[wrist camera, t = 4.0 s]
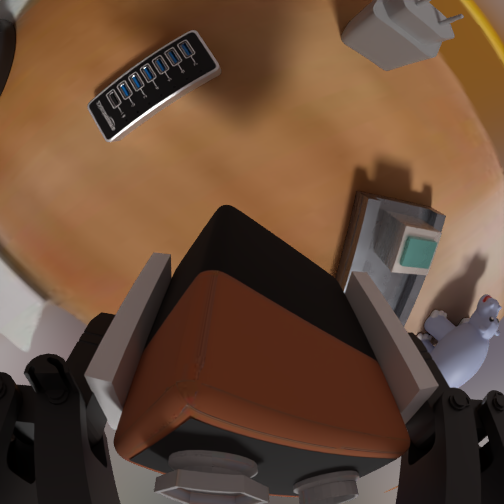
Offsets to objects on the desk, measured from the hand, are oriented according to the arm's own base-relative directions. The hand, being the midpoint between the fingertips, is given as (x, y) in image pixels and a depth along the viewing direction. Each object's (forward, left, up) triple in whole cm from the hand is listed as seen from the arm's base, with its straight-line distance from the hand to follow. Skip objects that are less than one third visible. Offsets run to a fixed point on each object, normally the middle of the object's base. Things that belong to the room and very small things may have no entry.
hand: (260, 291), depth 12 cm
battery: (0, 0, -1) cm, 1 cm away
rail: (+7, +13, -13) cm, 20 cm away
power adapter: (-17, +8, -14) cm, 23 cm away
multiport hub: (-10, -10, -14) cm, 20 cm away
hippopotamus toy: (+13, +29, -14) cm, 34 cm away
